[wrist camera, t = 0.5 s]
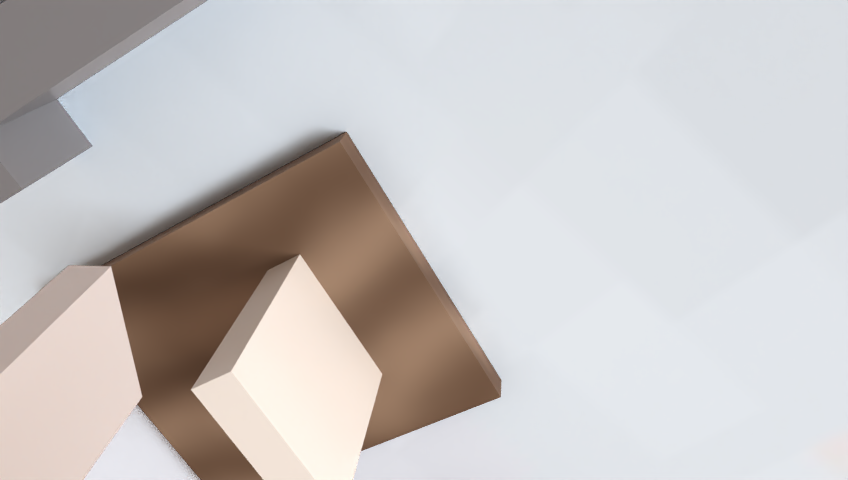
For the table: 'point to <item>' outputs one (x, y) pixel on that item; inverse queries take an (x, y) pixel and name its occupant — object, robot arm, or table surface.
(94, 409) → the robot arm
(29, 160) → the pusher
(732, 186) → the table surface
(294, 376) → the tile
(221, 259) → the walnut board
